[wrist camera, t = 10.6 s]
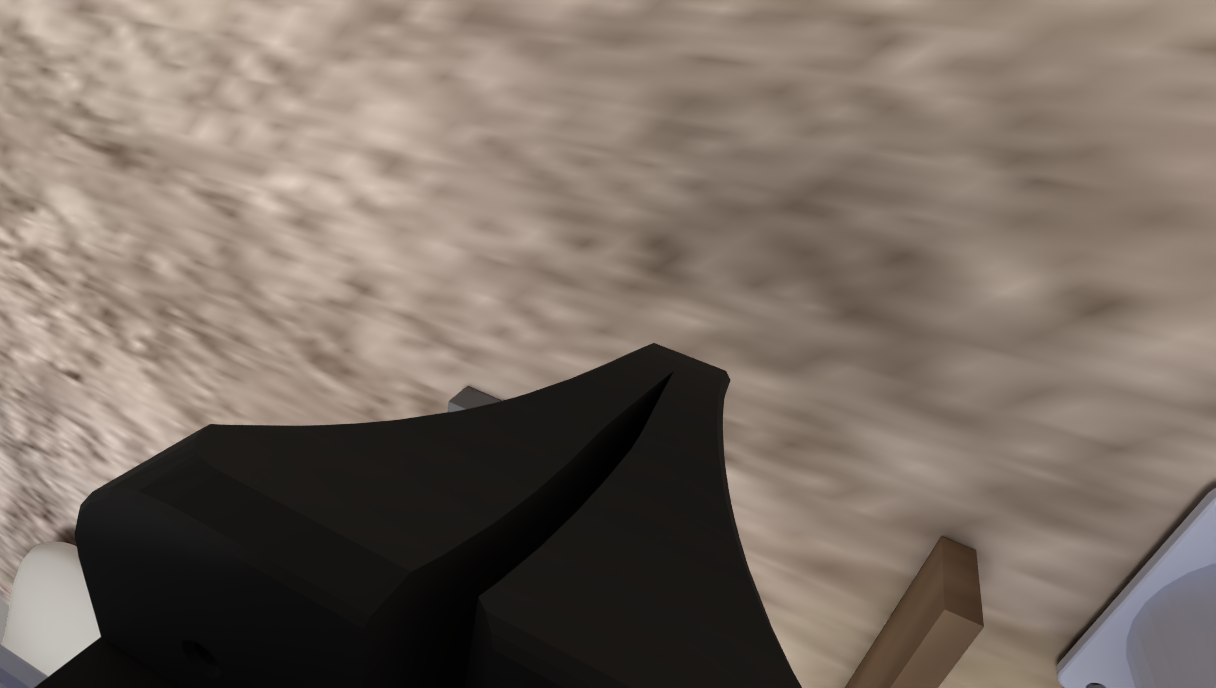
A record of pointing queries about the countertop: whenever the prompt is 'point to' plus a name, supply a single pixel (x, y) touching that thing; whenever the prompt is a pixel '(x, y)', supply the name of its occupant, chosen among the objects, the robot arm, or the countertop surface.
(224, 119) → the countertop surface
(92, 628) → the flower in vase
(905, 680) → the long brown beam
